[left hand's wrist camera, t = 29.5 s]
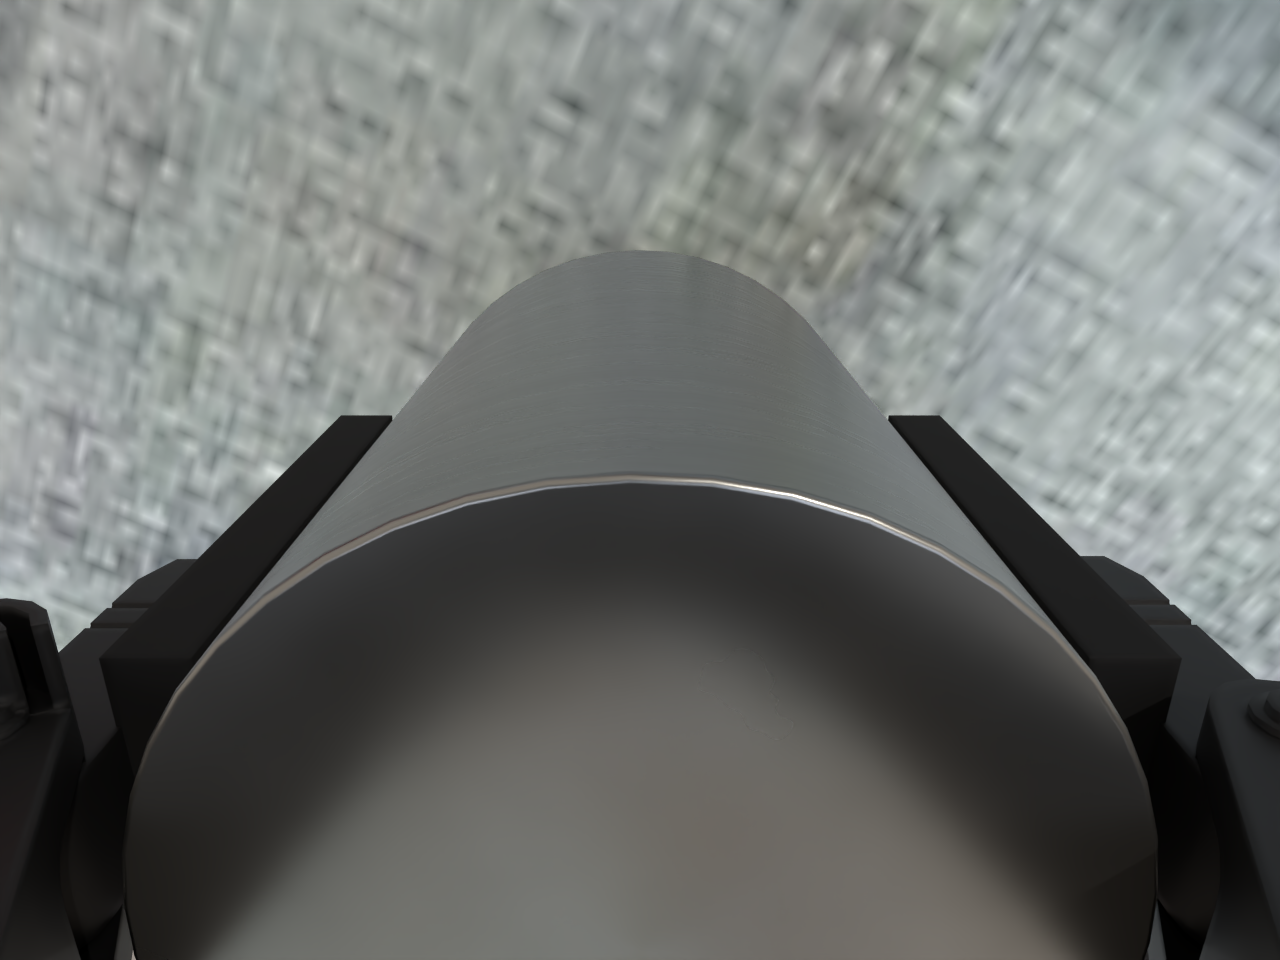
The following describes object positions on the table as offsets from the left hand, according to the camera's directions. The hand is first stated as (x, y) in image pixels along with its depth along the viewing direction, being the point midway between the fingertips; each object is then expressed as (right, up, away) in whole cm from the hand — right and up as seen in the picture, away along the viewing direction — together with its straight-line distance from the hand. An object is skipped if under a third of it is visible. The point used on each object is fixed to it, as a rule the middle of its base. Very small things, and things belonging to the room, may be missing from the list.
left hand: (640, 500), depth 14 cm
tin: (0, 0, +1) cm, 1 cm away
